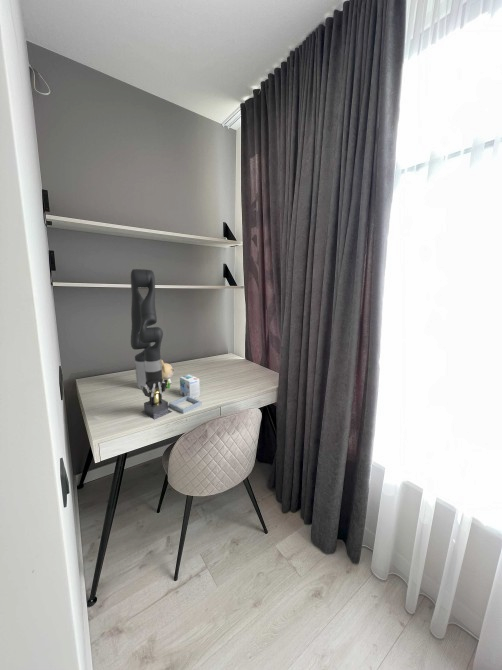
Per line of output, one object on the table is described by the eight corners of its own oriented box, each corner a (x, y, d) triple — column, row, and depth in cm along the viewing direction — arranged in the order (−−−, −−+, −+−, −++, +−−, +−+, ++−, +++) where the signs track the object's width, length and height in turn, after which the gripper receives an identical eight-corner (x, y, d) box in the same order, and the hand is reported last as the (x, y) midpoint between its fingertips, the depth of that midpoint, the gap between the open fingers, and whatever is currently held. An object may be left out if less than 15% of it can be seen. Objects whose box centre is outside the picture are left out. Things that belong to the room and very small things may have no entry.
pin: (150, 411, 134) (148, 391, 131) (158, 408, 137) (156, 388, 134) (155, 414, 131) (153, 393, 129) (162, 411, 134) (161, 390, 132)
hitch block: (140, 413, 134) (139, 402, 133) (158, 406, 141) (158, 395, 140) (154, 421, 126) (153, 409, 125) (172, 413, 134) (171, 402, 133)
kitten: (176, 387, 167) (175, 363, 163) (159, 390, 162) (158, 366, 159) (171, 379, 180) (170, 357, 176) (156, 381, 175) (154, 359, 172)
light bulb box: (180, 394, 156) (179, 376, 154) (190, 391, 161) (189, 373, 159) (190, 400, 149) (189, 381, 146) (200, 396, 153) (199, 378, 151)
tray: (169, 408, 139) (169, 403, 139) (187, 400, 148) (187, 395, 148) (183, 415, 132) (183, 409, 132) (201, 406, 141) (201, 401, 140)
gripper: (161, 363, 137) (163, 395, 140) (135, 370, 126) (138, 404, 130) (170, 366, 132) (172, 399, 136) (144, 374, 121) (146, 409, 125)
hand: (155, 401), depth 133 cm, fingers closed on pin, 3 cm apart
